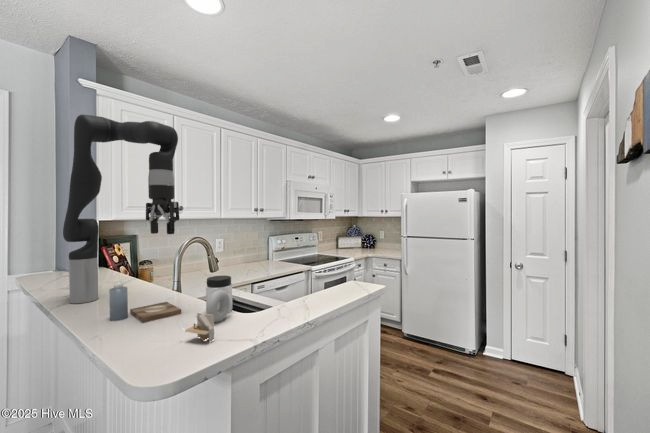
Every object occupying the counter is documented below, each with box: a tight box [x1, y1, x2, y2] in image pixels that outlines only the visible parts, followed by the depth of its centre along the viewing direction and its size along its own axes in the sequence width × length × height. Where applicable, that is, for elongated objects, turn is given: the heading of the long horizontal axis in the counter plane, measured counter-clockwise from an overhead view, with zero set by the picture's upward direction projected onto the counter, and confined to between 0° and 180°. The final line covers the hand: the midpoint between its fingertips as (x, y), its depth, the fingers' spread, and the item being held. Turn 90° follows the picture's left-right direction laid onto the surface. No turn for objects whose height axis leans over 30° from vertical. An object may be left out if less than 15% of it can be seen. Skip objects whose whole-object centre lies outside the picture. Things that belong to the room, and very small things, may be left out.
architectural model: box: [184, 312, 215, 341], centre depth 83 cm, size 3×7×7 cm, turn 70°
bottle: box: [108, 281, 129, 322], centre depth 102 cm, size 5×5×12 cm
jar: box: [205, 275, 233, 314], centre depth 108 cm, size 9×8×12 cm
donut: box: [205, 290, 230, 323], centre depth 98 cm, size 10×4×10 cm, turn 163°
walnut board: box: [129, 301, 182, 323], centre depth 107 cm, size 14×12×2 cm
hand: (162, 233), depth 101 cm, fingers open, 8 cm apart
